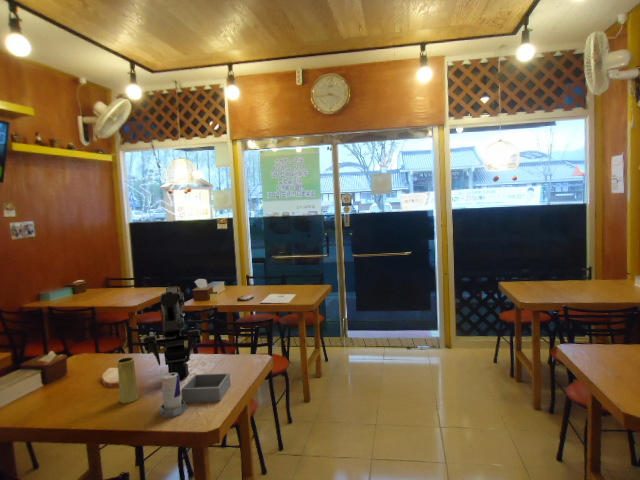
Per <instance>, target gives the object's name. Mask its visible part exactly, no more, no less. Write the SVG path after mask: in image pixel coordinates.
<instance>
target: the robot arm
mask: <svg viewBox="0 0 640 480" xmlns="http://www.w3.org/2000/svg"><path fill="white" fill-rule="evenodd" d="M184 296H185V295H184V292H182V291H181V290H180V288H179V286H176V285H174V286H167V287H165V292H164V293H161V296H160V297H159V301H158V302H159V307H161V311H162V314H163V322H162V325H163V327H162V335H163V337H162V338H157V335H150V336H149V335H148V336H144V337H143V343H142V344H143V347H144V351H146V352H148V353H152V354H153V356H154V357H155V359H156V361H157V364H158V366H161V360H160V359H161V357H160V352H159V348H158V347H159V345H164V344H165V349H163V351H164V353H163V354H164V362H165V366H167V367H168V369H167V370H168V373H172V372H175V373H178V375H179V381H183V380H185V378H186V377H188V375H190V372H189V363H188V362H189V361H191V355H192V351H193V350H194V348H195V347H197V346H198V344H201V343H202V341H201V338H202V337H201V330H199V329H193V330H187V331H188V334H184V335H182V329H181V328H185V320H184V317H181V314H182V313H183V312H184V306H186V305H185V297H184ZM186 341H187V345H186Z"/></svg>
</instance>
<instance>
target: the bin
mask: <svg viewBox="0 0 640 480" xmlns="http://www.w3.org/2000/svg"><path fill="white" fill-rule="evenodd" d="M231 385H232V384H231V373H230V372H228V373H226V372H225V373H202V374H201V373H200V374H199V373H198V374H194V375H193V376H192V377H191V378H190V379H189V381H187V383H186V384H185V385H184V386H183V387H182V388H180V391H181V399H182V400H184V401H185V402H186V403H198V402H199V403H200V402H201V403H202V402H204V403H206V402H221V401H222V399H223V397H224V396H225V394H226V393H227V391H228V390H229V388H230V387H231Z"/></svg>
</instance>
